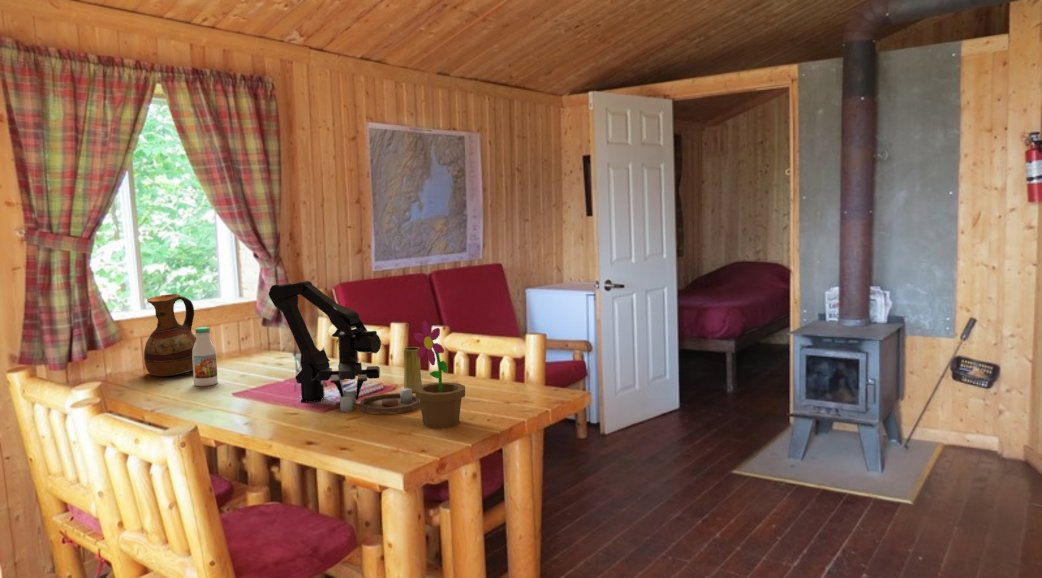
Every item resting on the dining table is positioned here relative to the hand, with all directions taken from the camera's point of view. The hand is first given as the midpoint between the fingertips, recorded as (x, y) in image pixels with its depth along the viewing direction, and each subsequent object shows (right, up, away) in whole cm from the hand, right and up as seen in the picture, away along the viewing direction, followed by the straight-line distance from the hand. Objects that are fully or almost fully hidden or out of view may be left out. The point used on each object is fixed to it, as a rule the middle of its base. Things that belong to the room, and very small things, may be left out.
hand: (350, 400), depth 241 cm
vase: (+18, +1, +16) cm, 23 cm away
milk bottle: (-57, +1, +28) cm, 64 cm away
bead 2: (+1, -2, -8) cm, 8 cm away
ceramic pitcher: (-76, +3, +46) cm, 88 cm away
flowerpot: (+31, -4, -23) cm, 39 cm away
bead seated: (+18, 0, -2) cm, 18 cm away
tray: (+13, -1, -4) cm, 14 cm away
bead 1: (0, -1, 0) cm, 1 cm away
